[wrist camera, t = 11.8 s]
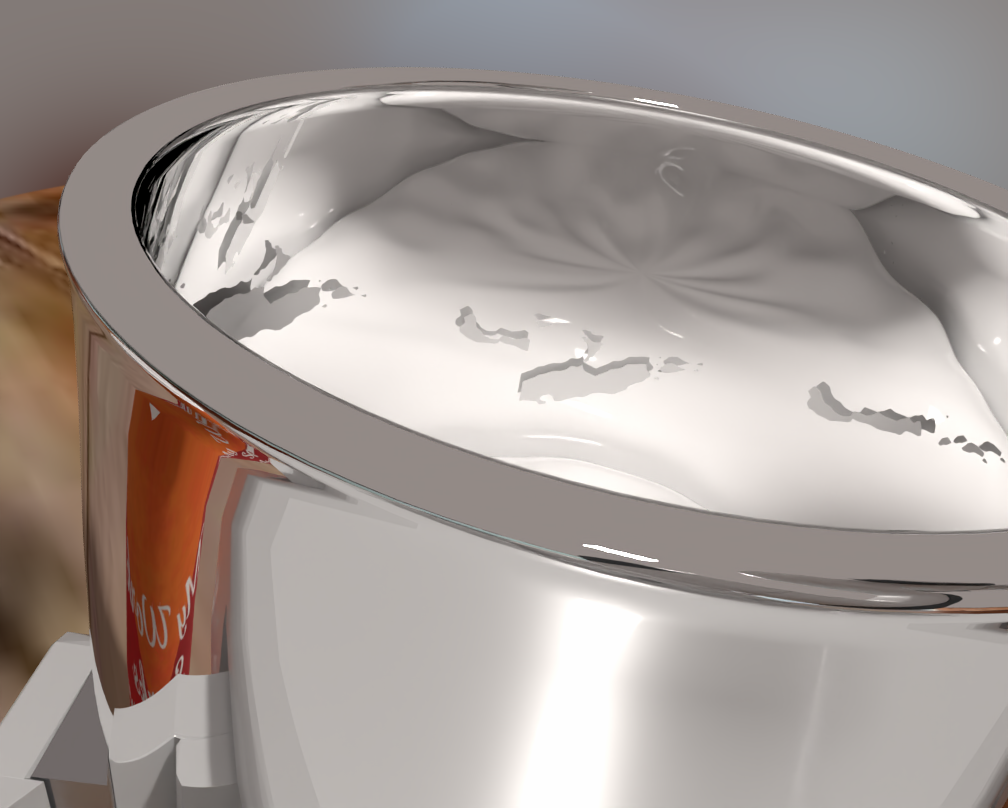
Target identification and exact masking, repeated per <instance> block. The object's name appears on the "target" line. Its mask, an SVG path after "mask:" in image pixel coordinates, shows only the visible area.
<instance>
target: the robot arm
mask: <svg viewBox="0 0 1008 808" xmlns="http://www.w3.org/2000/svg"><path fill="white" fill-rule="evenodd" d="M0 808H110V802H109V795H108V787H107V780H106V772H105V765H104V757H103V750H102V742H101V735H100V727H99V720H98V712H97V705H96V697H95V690H94V681H93V673H92V663H91V648H90V635H87V634H80V633H73V632H67V633H65V634H64V635H63V636H62V637H61V638H59V639H58V640H57V641H56V642H55V643H53V644H52V646H51V647H50V649H49V650H48V652H47V653H46V655H45V656H44V658H43V659H42V661H41V662H40V664H39V665H38V667H37V669H36V670H35V672H34V673H33V675H32V676H31V678H30V679H29V681H28V682H27V684H26V685H25V687H24V688H23V690H22V691H21V693H20V694H19V696H18V698H17V699H16V701H15V702H14V704H13V705H12V707H11V708H10V710H9V711H8V713H7V714H6V716H5V717H4V719H3V720H2V722H1V723H0Z"/></svg>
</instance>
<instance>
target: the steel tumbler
mask: <svg viewBox="0 0 1008 808" xmlns="http://www.w3.org/2000/svg"><path fill="white" fill-rule="evenodd" d="M57 229H58V241H59V247H60V252H61V256H62V260H63V263H64V266H65V269H66V272H67V275H68V278H69V285H70V294H71V304H72V313H73V322H74V338H75V355H76V372H77V388H78V406H79V435H80V465H81V494H82V523H83V543H84V558H85V573H86V588H87V603H88V618H89V633H90V648H91V663H92V673H93V681H94V690H95V697H96V705H97V712H98V720H99V727H100V735H101V742H102V750H103V757H104V765H105V772H106V780H107V787H108V795H109V802H110V808H1008V190H1006V189H1003V188H1001V187H998V186H996V185H993V184H991V183H989V182H986V181H983V180H981V179H978V178H976V177H973V176H971V175H968V174H965V173H963V172H960V171H957V170H955V169H952V168H949V167H946V166H943V165H941V164H938V163H935V162H932V161H929V160H926V159H923V158H921V157H918V156H915V155H912V154H909V153H906V152H903V151H900V150H897V149H893V148H890V147H887V146H884V145H881V144H878V143H875V142H871V141H868V140H865V139H861V138H858V137H855V136H851V135H848V134H844V133H841V132H837V131H833V130H830V129H826V128H823V127H819V126H815V125H812V124H808V123H804V122H801V121H797V120H793V119H789V118H784V117H781V116H777V115H773V114H769V113H764V112H760V111H756V110H752V109H747V108H742V107H738V106H734V105H729V104H724V103H719V102H715V101H710V100H705V99H700V98H695V97H690V96H684V95H679V94H674V93H668V92H663V91H657V90H651V89H645V88H639V87H633V86H626V85H620V84H613V83H606V82H598V81H592V80H584V79H576V78H568V77H559V76H550V75H541V74H529V73H519V72H507V71H493V70H478V69H459V68H458V69H456V68H425V67H422V68H421V67H386V68H385V67H383V68H354V69H335V70H322V71H310V72H301V73H291V74H283V75H276V76H269V77H262V78H256V79H250V80H245V81H240V82H235V83H230V84H226V85H221V86H217V87H213V88H210V89H206V90H202V91H199V92H195V93H191V94H188V95H185V96H182V97H179V98H177V99H174V100H171V101H169V102H166V103H163V104H161V105H159V106H156V107H154V108H152V109H149V110H147V111H145V112H143V113H141V114H139V115H136V116H135V117H133V118H131V119H129V120H127V121H125V122H124V123H122V124H120V125H119V126H117V127H116V128H114V129H113V130H111V131H110V132H109V133H107V134H106V135H105V136H103V137H102V138H101V139H100V140H99V141H98V142H96V143H95V144H94V145H93V146H92V147H91V148H90V149H89V150H88V151H87V152H86V153H85V154H84V155H83V157H82V158H81V159H80V161H79V162H78V163H77V165H76V167H75V168H74V170H73V171H72V173H71V175H70V176H69V178H68V180H67V182H66V184H65V187H64V189H63V192H62V196H61V199H60V203H59V211H58V220H57Z"/></svg>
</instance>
